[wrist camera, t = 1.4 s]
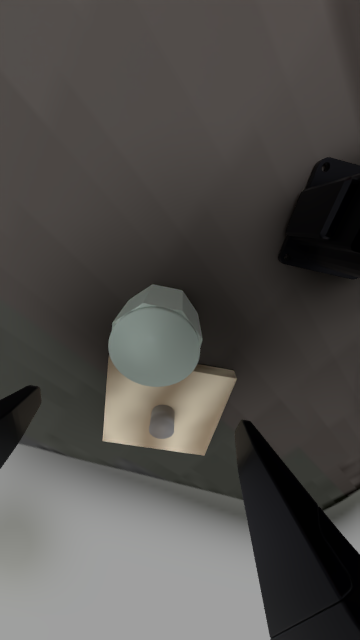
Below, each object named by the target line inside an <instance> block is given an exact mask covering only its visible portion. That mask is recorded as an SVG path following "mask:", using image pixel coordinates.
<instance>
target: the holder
mask: <svg viewBox="0 0 360 640" xmlns="http://www.w3.org/2000/svg"><path fill="white" fill-rule="evenodd" d="M236 380H237V378H236V375H235V372H234V370H228V369H223V368H217V367H212V366H206V365H200V364H197V365H196V367H195V369H194V370H193V371H192V373H191V374H190V375H189V376H187V377H186V378H185V379H183V380H182V381H180V382H178V383H175V384H172V385H169V386H163V387H151V386H145V385H141V384H138V383H136V382H133V381H131V380H130V379H128V378H126V377H125V376H124V375H122V374H121V373H120V372H119V371H118V369H117V368H116V367H115V366H114V364H113V362H112V360H111V358H110V355H109V358H108V372H107V387H106V401H105V415H104V429H103V441H106V442H113V443H120V444H127V445H134V446H141V447H148V448H155V449H162V450H169V451H176V452H183V453H190V454H198V455H205V452H206V450H207V448H208V445H209V443H210V441H211V438H212V436H213V434H214V431H215V429H216V427H217V424H218V422H219V420H220V417H221V415H222V413H223V410H224V408H225V405H226V403H227V401H228V398H229V396H230V394H231V391H232V389H233V387H234V384H235V382H236Z"/></svg>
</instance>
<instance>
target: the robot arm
mask: <svg viewBox="0 0 360 640" xmlns="http://www.w3.org/2000/svg"><path fill="white" fill-rule="evenodd" d="M323 164H325V165H326V170H325V172H323V171H322V166H323ZM286 233H287V236H286V239H285V241H284V244H283V246H282V249H281V251H280V254H279V257H278V258H279V261H280V262H281V263H283V264H287V265H291V266H296V267H300V268H304V269H309V270H313V271H318V272H322V273H327V274H331V275H335V276H340V277H344V278H349V279H357V278H360V166H359V165H356V164H352V163H348V162H345V161H341V160H337V159H334V158H330V157H327V158H324V159H322V160H320V161H319V162H318V163H317V164H316V165H315V167H314V170H313V172H312V175H311V177H310V180H309V182H308V185H307V187H306V189H305V190H304V191H303V192H301V194H300V197H299V200H298V202H297V205H296V207H295V210H294V212H293V215H292V217H291V220H290V222H289V225H288V227H287V230H286ZM286 254H288V255H289V257H288V259H286V260H285V259H284V256H285V255H286ZM40 404H41V392H40V388H39V387H38V386H31V385H29V386H26V387H24V388H22V389H21V390H19V391H17V392H15V393H13V394H11V395H9V396H7V397H5V398H3V399H1V400H0V468H1V467H2V466H3V465H4V463H5V462H6V460H7V459H8V457H9V456H10V455H11V453H12V452H13V450H14V449H15V447H16V446H17V444H18V443H19V441H20V440H21V438H22V436H23V435H24V433H25V431H26V429H27V428H28V426H29V424H30V422H31V421H32V419H33V417H34V415H35V414H36V412H37V410H38V408H39V407H40ZM235 444H236V454H237V464H238V473H239V479H240V484H241V490H242V495H243V500H244V505H245V510H246V515H247V520H248V526H249V531H250V536H251V541H252V546H253V552H254V557H255V562H256V567H257V572H258V577H259V583H260V588H261V593H262V598H263V603H264V609H265V614H266V619H267V624H268V629H269V634H270V637H271V640H360V554H359V553H358V552H357V551H356V550H355V549H354V548H353V546H352V545H351V544H350V543H349V542H348V541H347V539H346V538H345V537H344V536H343V535H342V534H341V532H340V531H339V530H338V529H337V528H336V526H335V525H334V524H333V523H332V522H331V520H330V519H329V518H328V517H327V515H326V514H325V513H324V512H323V510H322V509H321V508H320V507H318V504H317V503H316V502H315V501H314V499H313V498H312V497H311V496H310V494H309V493H308V492H307V491H306V489H305V488H304V487H303V486H302V485H301V483H300V482H299V481H298V480H297V478H296V477H295V476H294V475H293V473H292V472H291V471H290V470H289V468H288V467H287V466H286V465H285V463H284V462H283V461H282V460H281V458H280V457H279V456H278V455H277V454H276V452H275V451H274V450H273V449H272V447H271V446H270V445H269V444H268V442H267V441H266V440H265V439H264V437H263V436H262V435H261V434H260V432H259V431H258V430H257V429H256V427H255V426H254V425H253V424H252V423H251V422H250V421H247V420H241V421H240V423H239V425H238V427H237V429H236V431H235Z"/></svg>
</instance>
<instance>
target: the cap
mask: <svg viewBox="0 0 360 640" xmlns="http://www.w3.org/2000/svg"><path fill="white" fill-rule="evenodd" d="M202 340H203V339H202V333H201V328H200V322H199V316H198V313H197V311H196V310H195V308H194V307H193V305H192V304H191V302H190V301H189V299H188V298H187V296H186V295H185V293H184V292H183V290H179V289H174V288H169V287H164V286H159V285H154V284H152V285H150V286H149V287H147V288H146V289H144V290H143V291H141V292H140V293H138V294H137V295H135V296H134V297H132V298H131V299H129V300H128V302H127V303H126V304H125V306H124V307H123V309H122V310H121V311H120V313H119V314H118V316H117V317H116V318H115V320H114V321H113V323H112V332H111V334H110V337H109V343H108V350H109V355H110V358H111V360H112V362H113V364H114V366H115V367H116V368H117V369H118V371H119V372H120V373H121V374H122V375H124V376H125V377H126V378H128V379H130V380H131V381H133V382H136V383H138V384H141V385H145V386H151V387H163V386H169V385H172V384H175V383H178V382H180V381H182V380H183V379H185V378H186V377H187V376H189V375H190V374H191V373H192V371H193V370H194V369H195V367H196V365H197V363H198V361H199V356H200V347H201V343H202Z"/></svg>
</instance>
